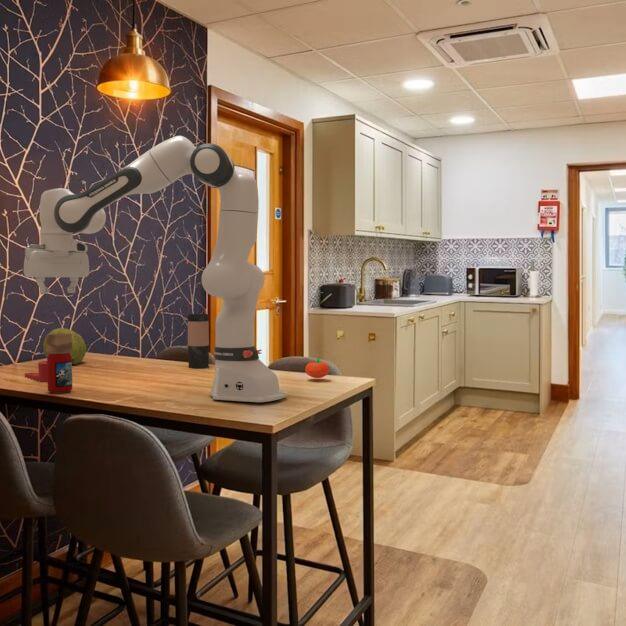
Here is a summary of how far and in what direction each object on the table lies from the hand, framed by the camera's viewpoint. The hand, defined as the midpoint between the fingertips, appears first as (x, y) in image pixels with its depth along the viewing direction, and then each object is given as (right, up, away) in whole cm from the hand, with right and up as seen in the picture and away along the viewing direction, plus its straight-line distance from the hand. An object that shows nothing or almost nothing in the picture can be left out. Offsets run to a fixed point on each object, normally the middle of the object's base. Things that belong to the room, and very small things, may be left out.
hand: (58, 293), depth 195 cm
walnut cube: (0, -17, +1) cm, 17 cm away
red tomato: (+75, -27, +30) cm, 85 cm away
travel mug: (+32, -26, +52) cm, 67 cm away
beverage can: (0, -29, +1) cm, 29 cm away
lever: (-13, -28, +23) cm, 39 cm away
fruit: (-18, -26, +53) cm, 62 cm away
